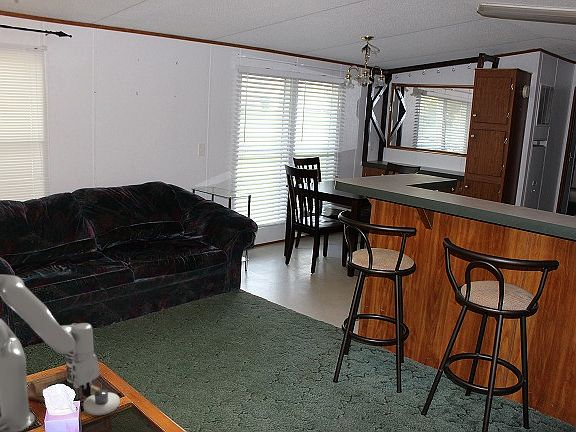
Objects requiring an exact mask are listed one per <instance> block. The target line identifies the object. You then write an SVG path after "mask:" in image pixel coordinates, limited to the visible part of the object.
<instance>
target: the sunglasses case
mask: <svg viewBox="0 0 576 432" xmlns="http://www.w3.org/2000/svg"><path fill="white" fill-rule="evenodd" d="M48 387H51V386H49V385H45V384H39V383H34V382H32V381H31V382H30V384H29V385H28V386H27V388H28V399H32V400H31V401H33V400H37V401H36V402H38V401H41V402H40V403H42V402H44V398H43V393H42V391H43V389H46V388H48Z"/></svg>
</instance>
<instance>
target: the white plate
mask: <svg viewBox="0 0 576 432" xmlns="http://www.w3.org/2000/svg"><path fill="white" fill-rule="evenodd" d="M119 404H121V401H120V396H119V395H118V394H116V393H114V392H109V391H108V402H107V403H106V404H103V405H97V404H96V403H95V396H94V395H92V394H91V396H89V397H86V399H85V400H84V401H83V411H84V412H85V413H86V414H88V415H91V416H103V415H108V414H110V413H112V412H115V411H116V410H117V409H118V408H119V407H120V405H119ZM118 406H119V407H118ZM117 407H118V408H117Z"/></svg>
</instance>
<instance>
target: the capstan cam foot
mask: <svg viewBox="0 0 576 432" xmlns="http://www.w3.org/2000/svg"><path fill="white" fill-rule="evenodd" d="M108 392H109V391H108V390H107V389H101V388H100V387H98V386H96V385H94V384H92V386H91V396H92V395H94V396H95V403H96V404H97V405H103V404H106V403H107V402H108Z"/></svg>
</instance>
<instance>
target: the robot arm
mask: <svg viewBox="0 0 576 432" xmlns="http://www.w3.org/2000/svg"><path fill="white" fill-rule="evenodd" d="M0 297H1V299H2V301H3V302H4V303H5V304H6V305H7V306H8V307H9V308H10V309H12V311H13V312H15V313H16V314H17V316H19V317H20V319H23V321H25V322H26V323H27V325H28V326H29V327H30V328H31V329H32V330H33V331H34V332H35V333H36V334H37V335H38V337H40V339H42V341H43V342H44V343H46V345H48V346H49V347H50V348H51V349H52V351H53V350H54V352H56V353H57V354H60V355H65V354H68V353H70V352H71V351H72V350H73V355H74V356H73V357H71V358H72V360H73V362H72V382H73V383H72V384H73V388H75V389H78V388H81V394H82V396H83V397H86V398H88V397H90V396H92V394H91V386H92V385H93V382H94V380H96V379H97V378H98V377H99V376H100V366H99V361H98V358H97V354H96V353H95V347H94V336H93V335H94V331H93V326H92V325H91V324H90V323H88V322H80V323H77V325H70V324H67V325H65V324H64V325H60V324H59V322H57V320H56V319H55V317H54V316H53V315H52V312H51V311H50V310H49V308H48V307H47V306H46V305H45V304H44V303H43V302H42V301H41V300H40V299H39V298H38V297H36V295H35V294H33V292H32V291H30V289H29V288H28V287H27V286H25V282H24V281H23V279H22V278H20V277H19V276H17V275H12V274H0ZM29 401H30V400H28V379H27V360H26V354H25V352H24V348H23V346H22V344H21V342H20V340H19V339H18V337H17V336H16V335H15V333H14V332H13V331H12V329H11V328H10V327H9V326H8V324H7V323H6V321H4V320H3V319H2V318H0V415H1V416H0V432H22V431H25V430H27V429H28V428H29V426H30V427H31V426H32V425H33V424H34V423H35V418H36V417H35V415H34V413H33V412H30V403H29ZM33 422H34V423H33ZM26 428H27V429H26ZM24 429H25V430H24Z"/></svg>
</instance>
